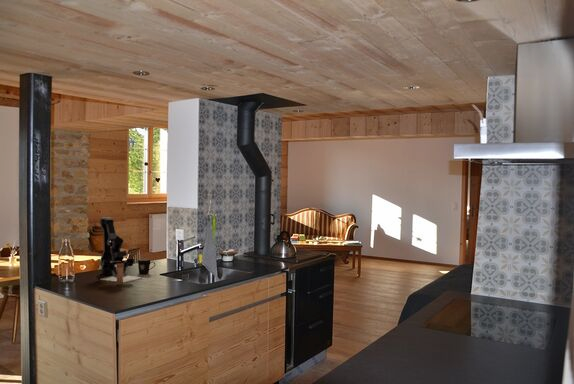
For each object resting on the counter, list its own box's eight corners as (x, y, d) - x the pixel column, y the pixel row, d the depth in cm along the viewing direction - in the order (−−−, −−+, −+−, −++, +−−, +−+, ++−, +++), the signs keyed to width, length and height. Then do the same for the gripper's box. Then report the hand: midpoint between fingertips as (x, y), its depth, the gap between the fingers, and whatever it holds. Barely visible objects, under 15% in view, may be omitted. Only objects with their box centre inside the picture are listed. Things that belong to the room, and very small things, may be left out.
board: (100, 279, 306) (100, 275, 306) (118, 275, 321) (118, 271, 321) (124, 283, 298) (124, 278, 298) (142, 278, 314) (142, 273, 314)
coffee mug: (134, 274, 328) (135, 259, 327) (143, 272, 335) (144, 258, 335) (147, 275, 322) (147, 261, 322) (156, 273, 330) (156, 259, 330)
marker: (115, 284, 294) (115, 263, 294) (119, 282, 298) (119, 262, 298) (119, 284, 293) (120, 264, 293) (124, 283, 297) (124, 263, 296)
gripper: (103, 247, 293) (107, 267, 284) (133, 245, 304) (138, 265, 295) (100, 257, 300) (104, 278, 291) (129, 255, 310) (134, 275, 301)
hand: (120, 273), depth 294 cm, fingers open, 5 cm apart
